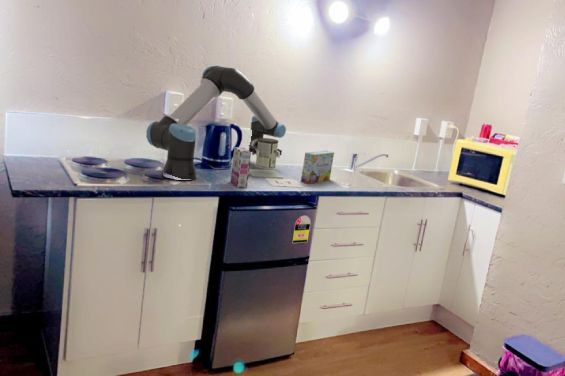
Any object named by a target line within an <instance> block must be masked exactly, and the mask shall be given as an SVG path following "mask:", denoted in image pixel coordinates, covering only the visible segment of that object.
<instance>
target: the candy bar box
mask: <svg viewBox="0 0 565 376" xmlns="http://www.w3.org/2000/svg"><path fill="white" fill-rule="evenodd" d="M251 155H252V152H250V151H249V149H247V148H245V147H239V146H237V147H234V148H233V157H232V163H231V164H232V166H231V175H230V183H231V184H232V185H233V186H235V187H236V188H237V189H239V188H240V189H246V188H248V180H249V169H250V163H251Z"/></svg>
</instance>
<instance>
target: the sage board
mask: <svg viewBox="0 0 565 376" xmlns="http://www.w3.org/2000/svg"><path fill="white" fill-rule="evenodd" d="M248 175H250V176H251V177H252V178H263V179H265V178H275V179H284V176H282V175H281V174H280V173H279V172H277V170H273V169H257V168H256V169H255V168H253V169H252V168H249V173H248Z"/></svg>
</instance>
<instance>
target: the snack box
mask: <svg viewBox="0 0 565 376" xmlns="http://www.w3.org/2000/svg"><path fill="white" fill-rule="evenodd" d="M334 155H335V152H334V151H329V150H317V151H308V152H304V158H303V164H302V165H303V166H302V170H301V178H300V182H302V183H305V184H308V185H310V184H315V183H320V182H325V181H330V179H331V173H332V169H333V167H332V166H333V160H334V157H335V156H334Z"/></svg>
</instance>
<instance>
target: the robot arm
mask: <svg viewBox="0 0 565 376" xmlns="http://www.w3.org/2000/svg"><path fill="white" fill-rule="evenodd" d="M199 83H200V85H198V87H197V88H196V89H195V90H194V91H192V93H191V94H190V95H189V96H188V97H187V98H186V99H185V100H184V101H183V102H182V103H181V104H180V105H179V106H178V107H177V108H176V109H175V110H174V111H173V112H172V113H171V114H169V115H164V116H163V117H162V118H161V119H160V120H159V121H157V120H155V121H153V122H151V123H149V125H148V126H147V129H146V140H147V142H148V143H149V145H151V146H153V147H154V148H156V149H161V150H165V151H167V156H166V157H167V159H166V161H165V164H164V167H163V169H162V171H163V172H164V173H167V174H169V175H172V176H175V177H178V178H181V179H195V178H196V179H197V170H196V167H195V163H194V162H195V161H194V160H195V150H196V140H197V136H196V135H197V132H196V130H195V128H194V127H192V126H191V125H189V124H190V122H191V121H193V119H194V118H195V117H196V116H197V115H198V114H199V113H200V112H201V111H202V110H203V109H204V108H205V107H206V105H208V104H209V103H210V102H211V100H212V99H214V98H217V99H218V98H219V97H220V96H221V95H222V94H223V93H224V92H225V93H231V94H233V95H235V96H237V98H238V99H239V100H241V101H243V102H244V104H245V105H246V106H247V108H249V110H250V111H251V113H252V114H253V115H252V116H253V117H251V121H252V122H251V121H250V131H251V130H252V136H251V142H250V145H248V151H250V152H251V155H252V156H255V155H256V157H257V156H259V150H258V149H257V148H258V139H259V138H264V136H265V135H266V136H268V137H269V136H270V137H274V138H279V139H281V138H283V137H284V136H285V135H286V132H287V128H286V126H285V124H283V123H280V122H278V121H277V119H276V118H275V116H274V115H273V114H272V112H271V111H270V109H269V108H268V107H267V106H266V104H265V103H264V102H263V100H262V99H261V97H260V96H259V95H258V93H257V91H256V90H255V86H254V85H253V83H252V81H251V80H250V79H249V78H248V77H247V76H246V75H245V74H244V73H243V72H241V71H240V70H239V69H236V68H235V67H234V68H233V67H226V66H221V65H220V66H219V65H211V66H208V67H206V68H205V70H203V72H202V75H201V79H200V82H199ZM282 151H283V150H282V149H280V148H277V156H276V158H279V159H280V156H282V154H283V152H282ZM196 179H195V180H196Z"/></svg>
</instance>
